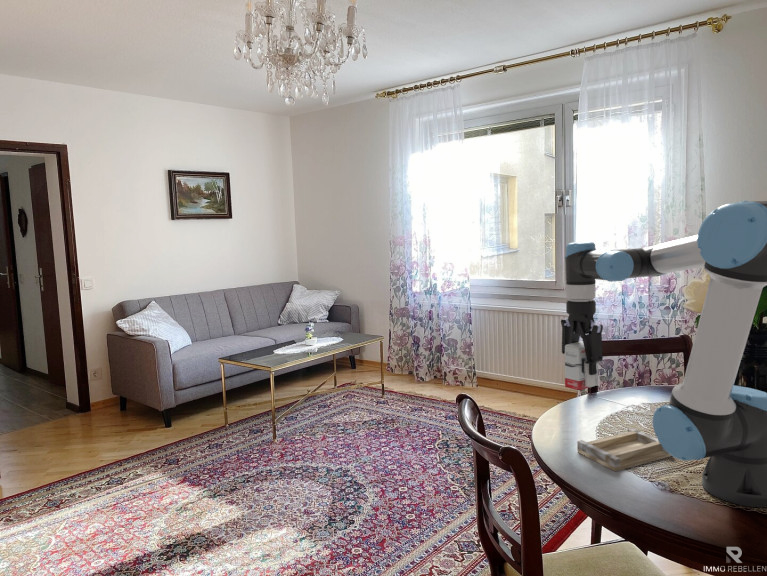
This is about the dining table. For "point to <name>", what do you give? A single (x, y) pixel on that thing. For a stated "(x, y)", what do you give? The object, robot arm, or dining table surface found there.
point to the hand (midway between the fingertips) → (581, 383)
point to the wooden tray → (623, 450)
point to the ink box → (576, 366)
